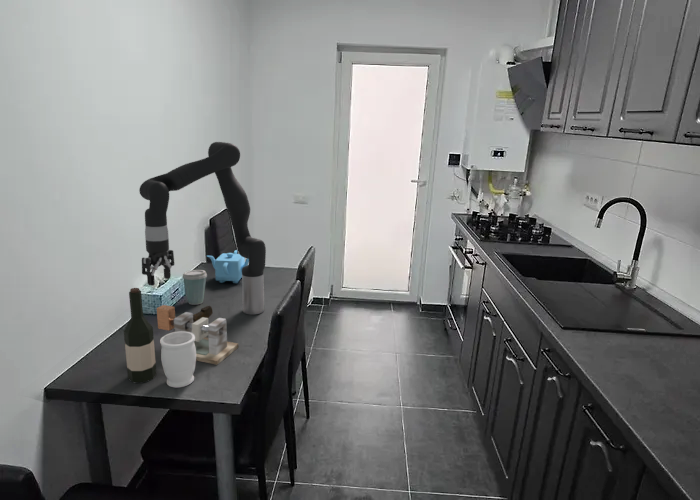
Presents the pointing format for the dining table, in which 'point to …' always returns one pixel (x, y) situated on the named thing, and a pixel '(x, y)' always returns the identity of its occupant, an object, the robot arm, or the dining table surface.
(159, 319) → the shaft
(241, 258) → the teakettle
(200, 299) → the disposable coffee cup
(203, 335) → the spacer collar
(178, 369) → the jar
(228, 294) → the dining table surface
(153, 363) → the wine bottle
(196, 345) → the bearing stand
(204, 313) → the hand tool
